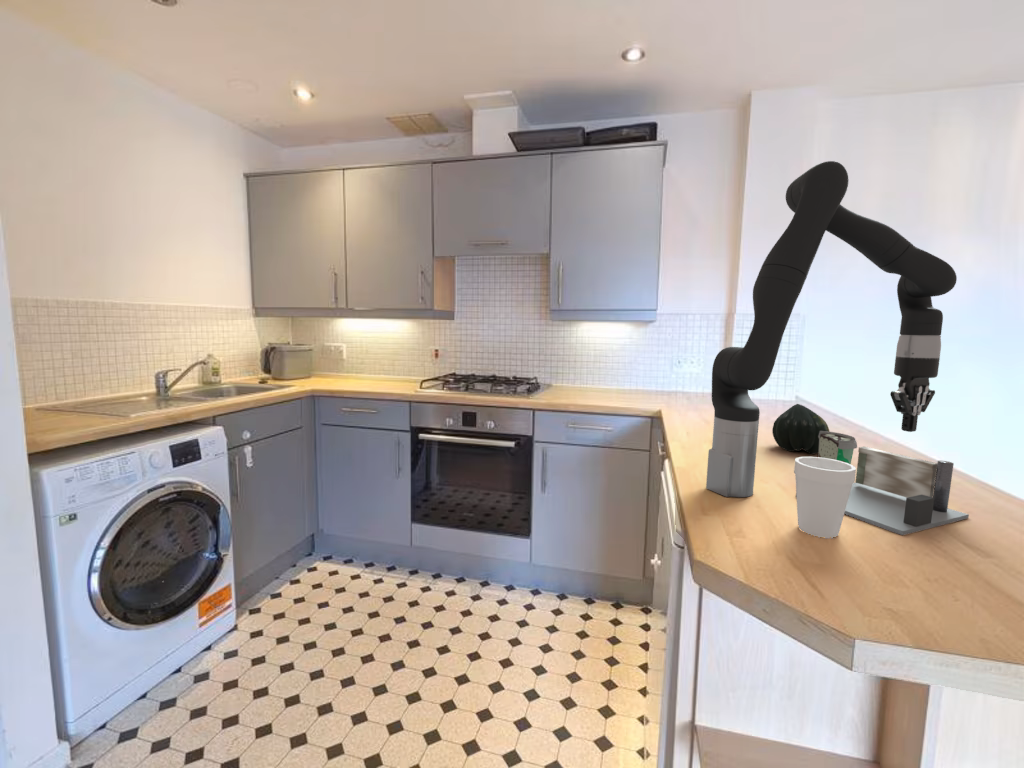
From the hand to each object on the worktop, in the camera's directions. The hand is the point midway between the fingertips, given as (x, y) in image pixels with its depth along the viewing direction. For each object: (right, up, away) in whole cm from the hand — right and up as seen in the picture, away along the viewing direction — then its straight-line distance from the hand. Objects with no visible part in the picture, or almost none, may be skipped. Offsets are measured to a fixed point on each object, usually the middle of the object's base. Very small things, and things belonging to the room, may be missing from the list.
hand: (908, 430), depth 107 cm
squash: (-2, -10, +39) cm, 40 cm away
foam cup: (-34, -17, -19) cm, 43 cm away
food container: (-5, -13, +16) cm, 21 cm away
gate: (-6, -13, -3) cm, 15 cm away
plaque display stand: (-13, -16, -7) cm, 21 cm away
